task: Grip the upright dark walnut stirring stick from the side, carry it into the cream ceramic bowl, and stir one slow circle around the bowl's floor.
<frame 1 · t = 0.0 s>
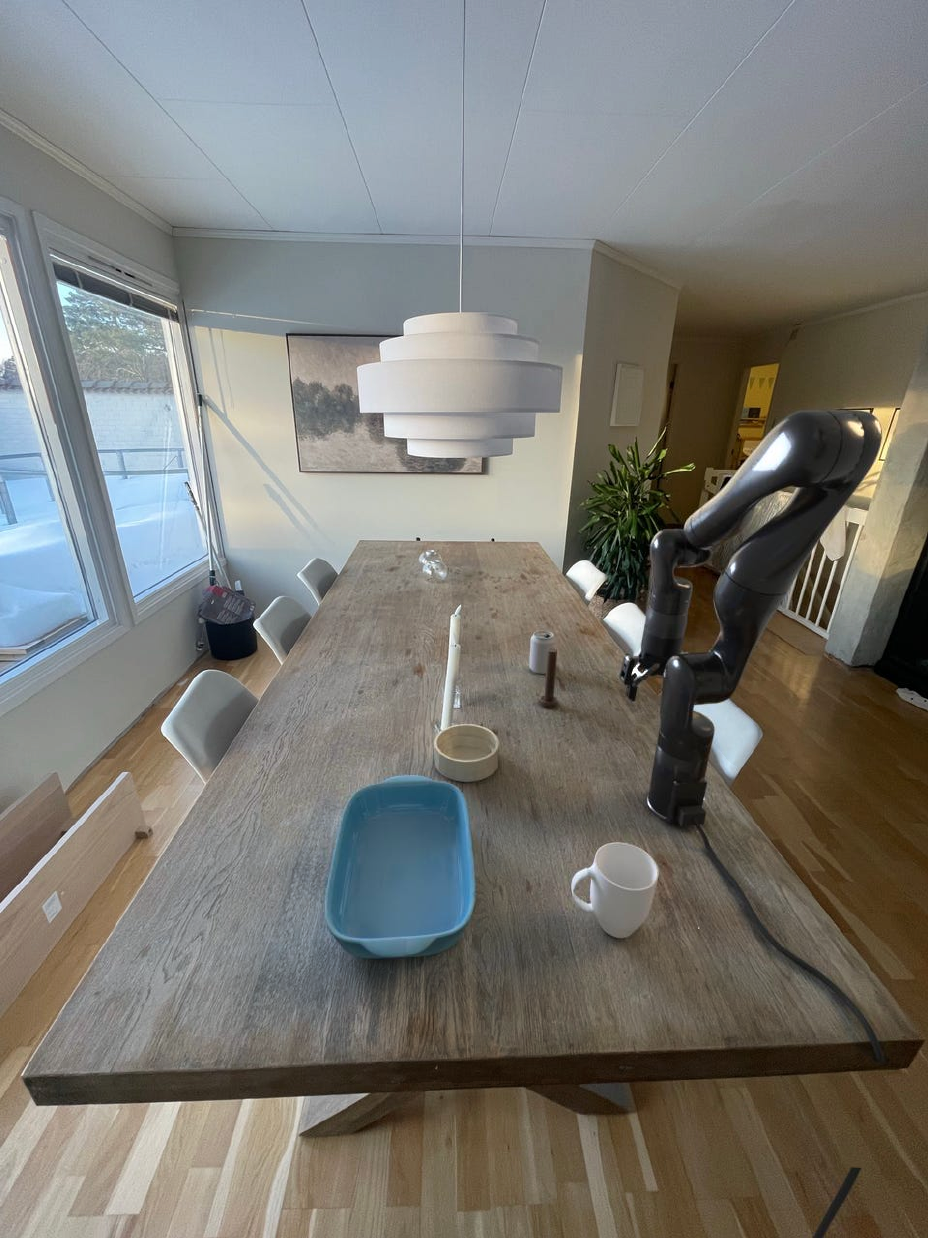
hand: (650, 698, 108), 17 cm above the table, tool pointing down, fingers open, 8 cm apart
mug: (607, 924, 78), on the table
stirring stick: (548, 704, 139), on the table
bowl: (466, 762, 115), on the table
can: (541, 670, 158), on the table
casserole dish: (405, 878, 86), on the table
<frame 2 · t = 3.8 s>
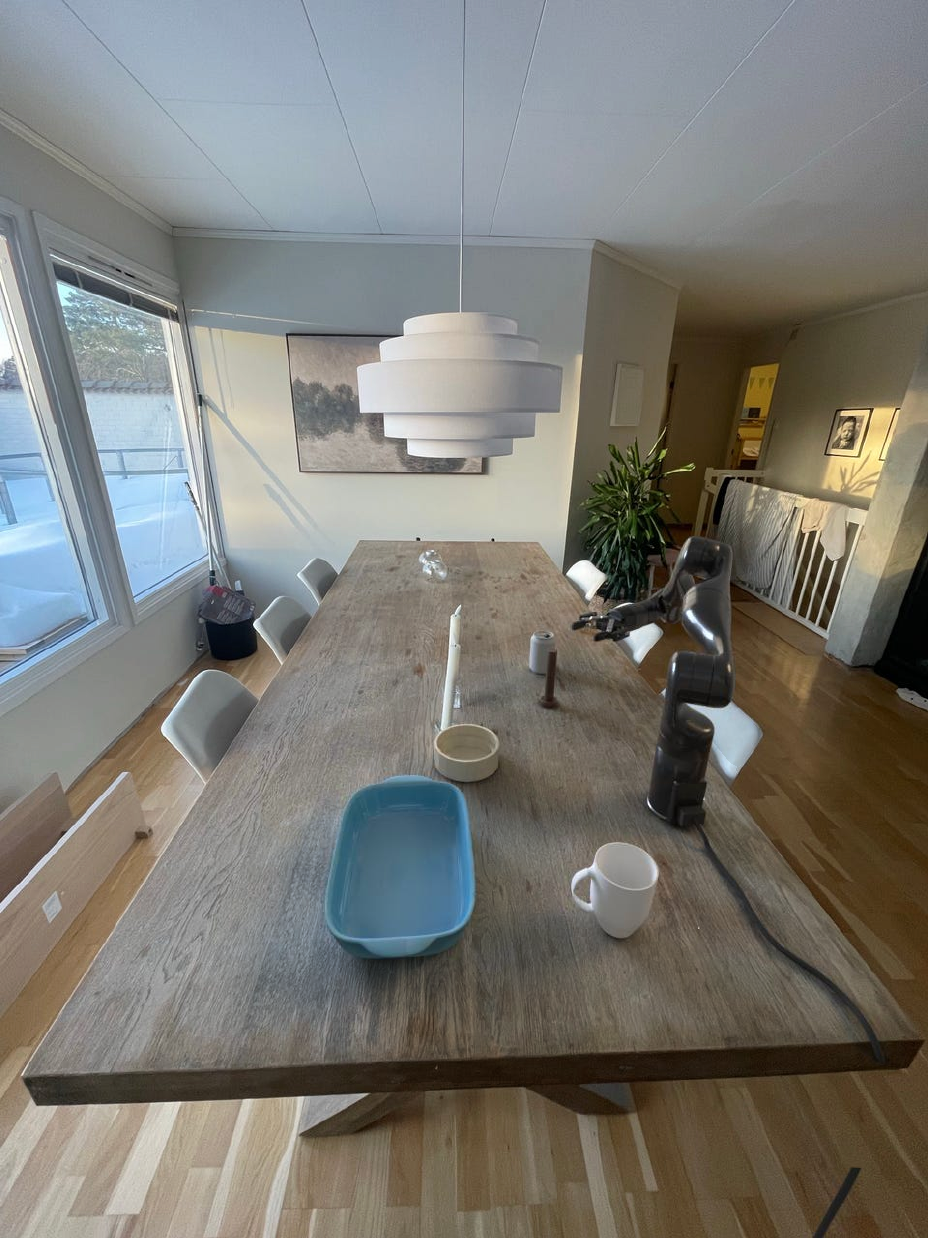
hand: (583, 632, 136), 19 cm above the table, tool horizontal, fingers open, 8 cm apart
nothing on the table moved.
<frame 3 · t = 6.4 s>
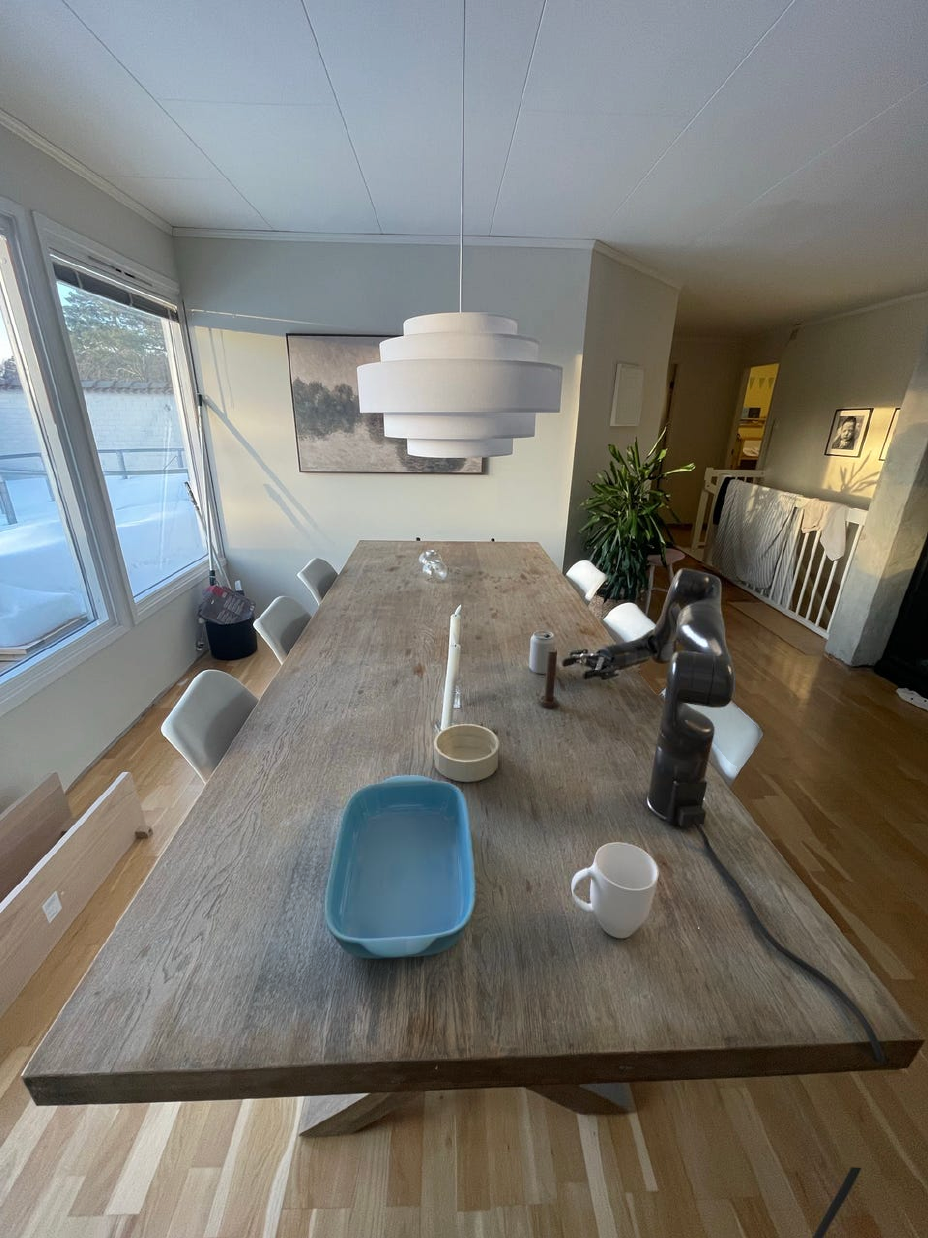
hand: (573, 669, 139), 9 cm above the table, tool horizontal, fingers open, 8 cm apart
nothing on the table moved.
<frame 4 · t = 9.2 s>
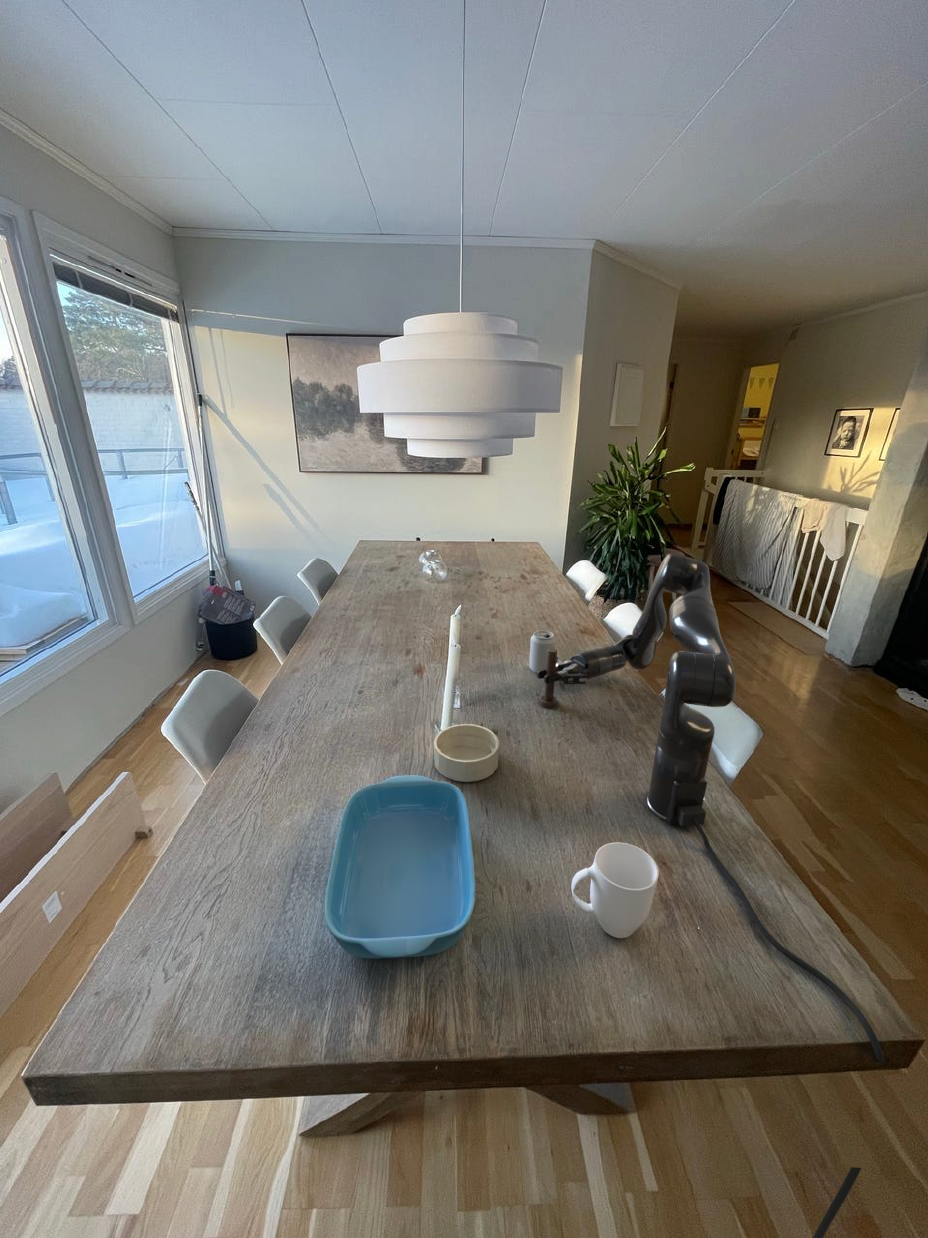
hand: (541, 677, 134), 9 cm above the table, tool horizontal, fingers closed on stirring stick, 2 cm apart
stirring stick: (548, 704, 139), on the table, touching gripper
everything else where it was.
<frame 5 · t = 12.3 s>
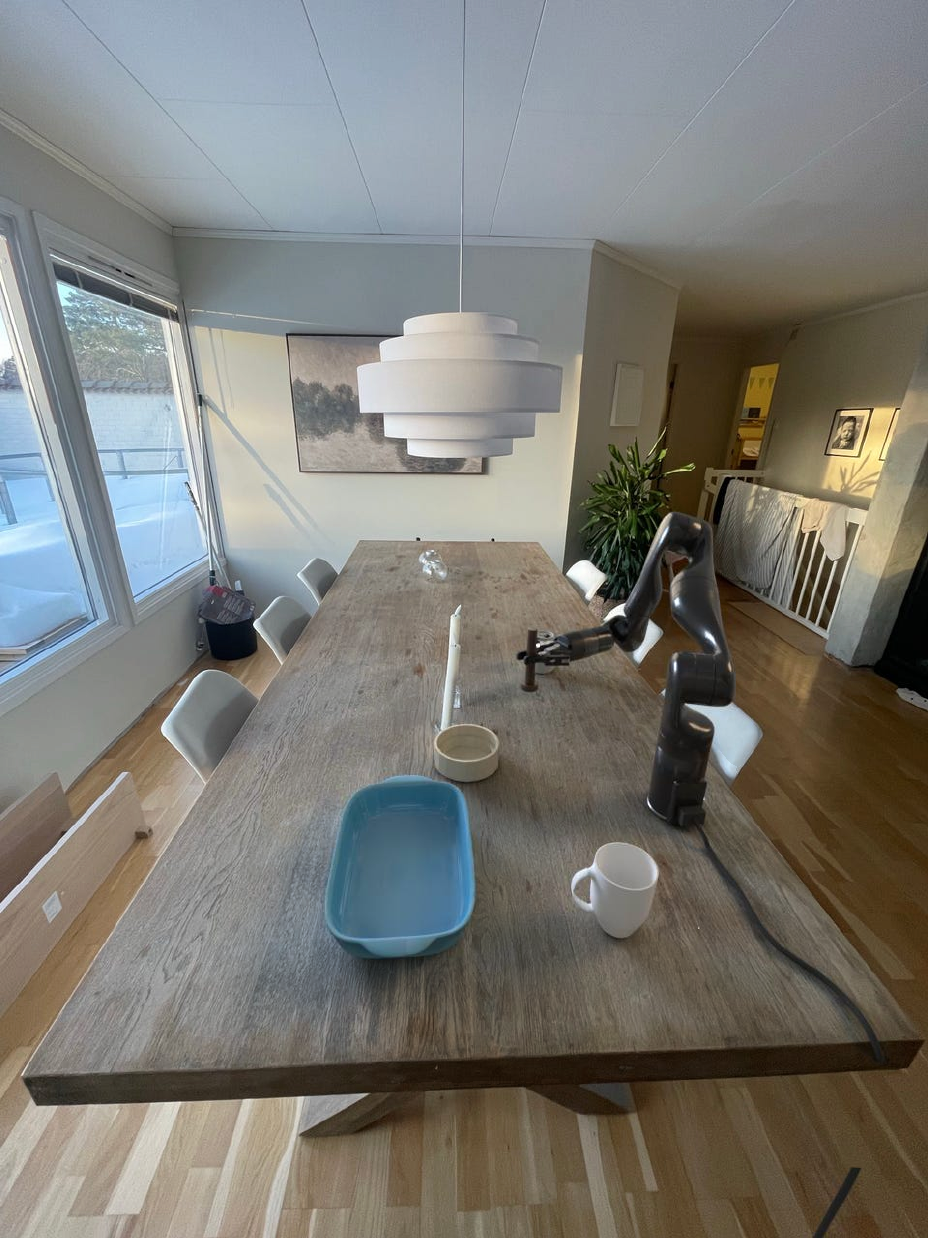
hand: (521, 658, 124), 18 cm above the table, tool horizontal, fingers closed on stirring stick, 2 cm apart
stirring stick: (529, 688, 128), point 9 cm above the table, touching gripper
everything else where it was.
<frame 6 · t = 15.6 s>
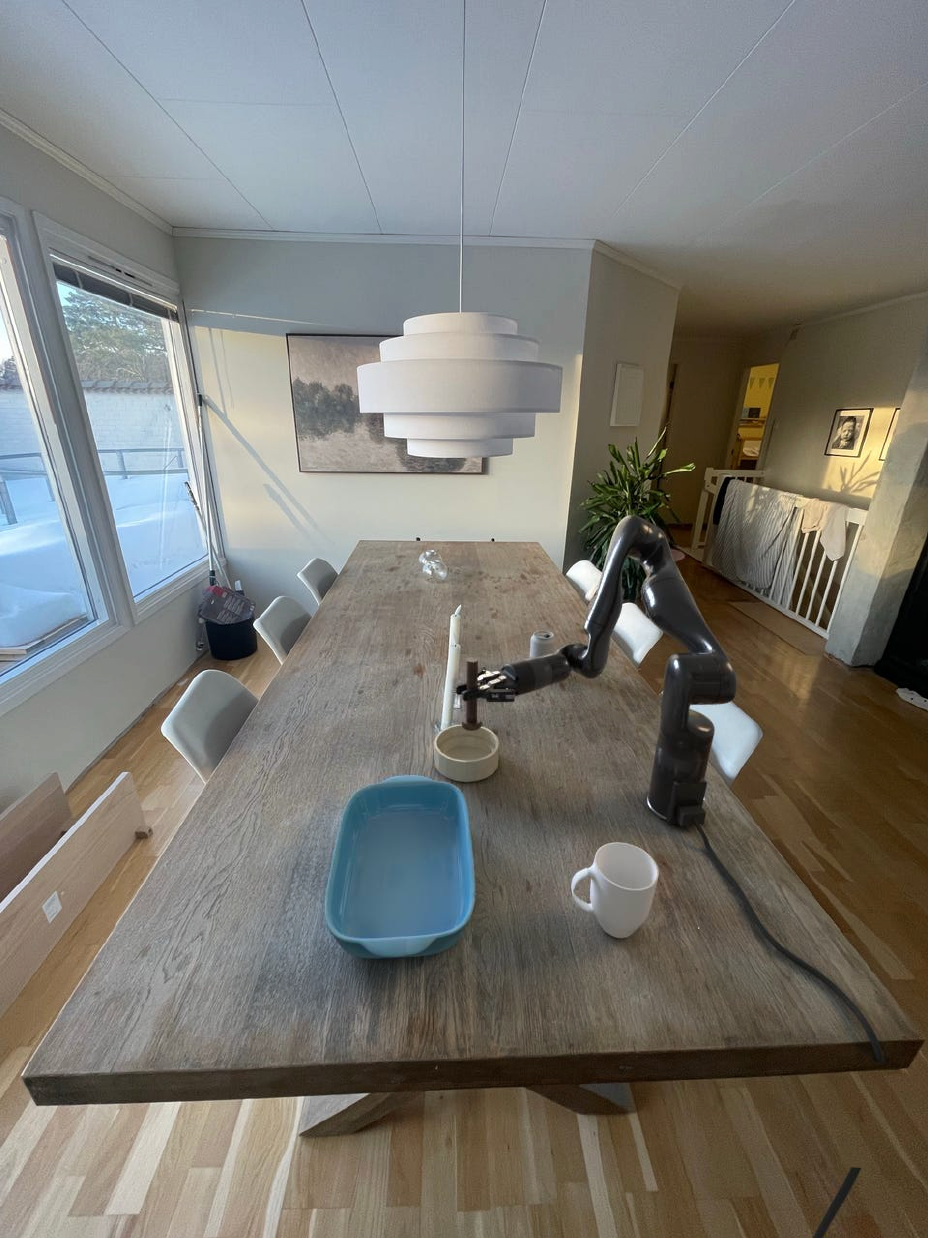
hand: (460, 693, 108), 18 cm above the table, tool horizontal, fingers closed on stirring stick, 2 cm apart
stirring stick: (471, 725, 113), point 9 cm above the table, touching gripper
everything else where it was.
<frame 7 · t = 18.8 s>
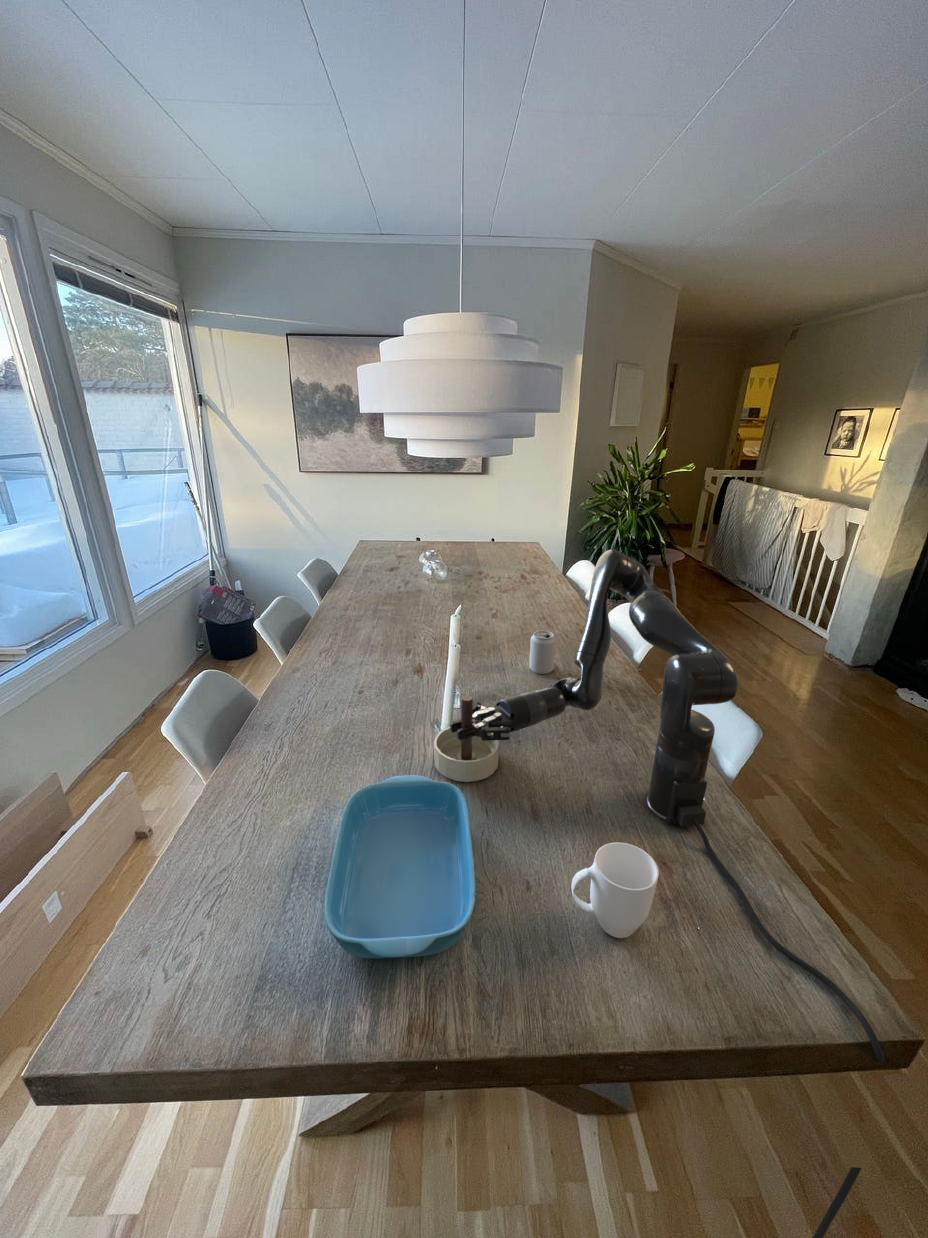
hand: (454, 731, 108), 10 cm above the table, tool horizontal, fingers closed on stirring stick, 2 cm apart
stirring stick: (466, 762, 112), point 2 cm above the table, touching gripper
everything else where it was.
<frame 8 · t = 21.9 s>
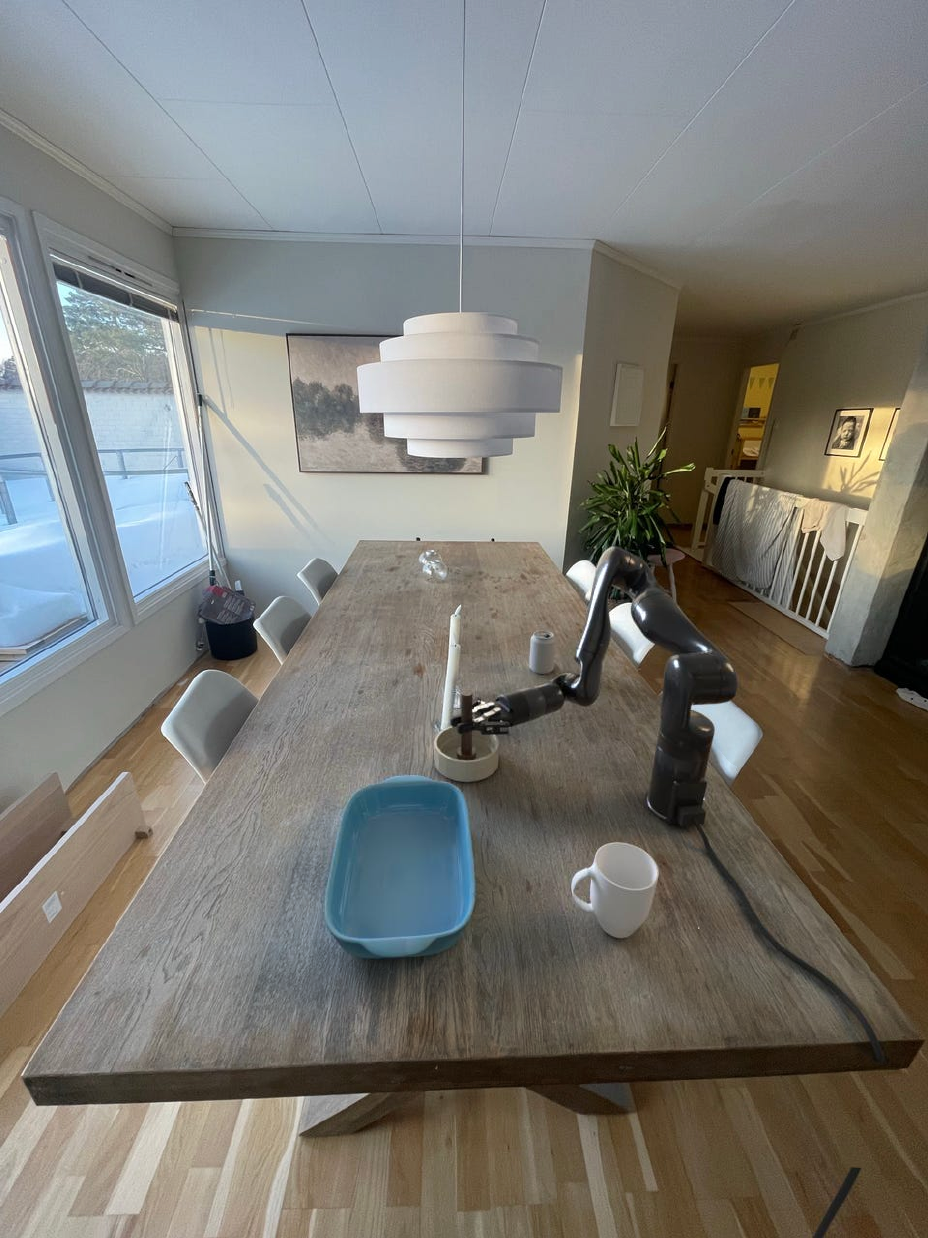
hand: (454, 726, 110), 10 cm above the table, tool horizontal, fingers closed on stirring stick, 2 cm apart
stirring stick: (466, 756, 114), point 2 cm above the table, touching gripper
everything else where it was.
at the end: the gripper is holding stirring stick; stirring stick inside the target area in the bowl (0.0 cm from its centre), point 1.7 cm above the bowl's base; stirring stick moved 34.1 cm from its start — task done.
